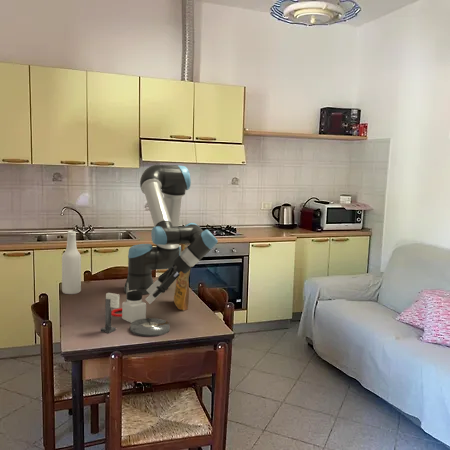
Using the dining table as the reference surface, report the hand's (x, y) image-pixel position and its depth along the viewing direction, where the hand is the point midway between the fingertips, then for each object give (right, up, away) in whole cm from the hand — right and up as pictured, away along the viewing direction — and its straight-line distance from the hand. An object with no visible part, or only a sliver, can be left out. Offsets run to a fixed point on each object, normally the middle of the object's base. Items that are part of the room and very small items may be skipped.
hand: (148, 296), depth 191 cm
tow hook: (-13, -9, +9) cm, 18 cm away
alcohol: (-44, -4, +38) cm, 58 cm away
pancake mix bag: (+12, -8, +23) cm, 27 cm away
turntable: (+2, -11, -9) cm, 15 cm away
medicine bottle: (-6, -10, +2) cm, 12 cm away
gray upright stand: (-13, -11, -13) cm, 21 cm away
